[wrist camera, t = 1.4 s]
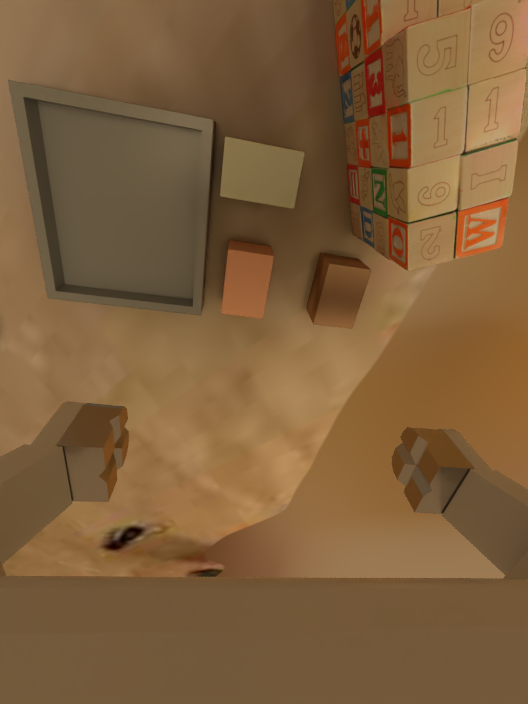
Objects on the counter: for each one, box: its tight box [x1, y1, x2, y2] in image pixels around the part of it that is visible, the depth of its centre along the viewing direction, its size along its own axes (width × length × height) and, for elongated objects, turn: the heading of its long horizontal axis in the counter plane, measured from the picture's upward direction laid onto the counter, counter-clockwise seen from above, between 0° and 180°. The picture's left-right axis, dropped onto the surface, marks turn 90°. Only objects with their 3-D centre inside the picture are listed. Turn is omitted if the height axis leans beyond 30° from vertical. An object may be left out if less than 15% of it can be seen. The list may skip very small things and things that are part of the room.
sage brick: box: [220, 137, 305, 209], centre depth 27 cm, size 4×6×4 cm, turn 81°
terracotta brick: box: [221, 240, 274, 319], centre depth 32 cm, size 6×4×4 cm, turn 171°
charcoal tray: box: [8, 80, 215, 315], centre depth 29 cm, size 16×14×2 cm
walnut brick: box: [306, 253, 371, 329], centre depth 33 cm, size 6×4×4 cm, turn 171°
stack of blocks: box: [333, 0, 528, 271], centre depth 21 cm, size 21×6×12 cm, turn 14°
